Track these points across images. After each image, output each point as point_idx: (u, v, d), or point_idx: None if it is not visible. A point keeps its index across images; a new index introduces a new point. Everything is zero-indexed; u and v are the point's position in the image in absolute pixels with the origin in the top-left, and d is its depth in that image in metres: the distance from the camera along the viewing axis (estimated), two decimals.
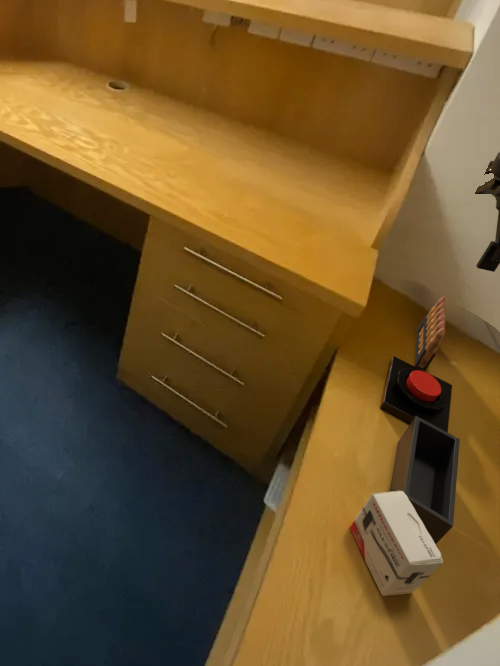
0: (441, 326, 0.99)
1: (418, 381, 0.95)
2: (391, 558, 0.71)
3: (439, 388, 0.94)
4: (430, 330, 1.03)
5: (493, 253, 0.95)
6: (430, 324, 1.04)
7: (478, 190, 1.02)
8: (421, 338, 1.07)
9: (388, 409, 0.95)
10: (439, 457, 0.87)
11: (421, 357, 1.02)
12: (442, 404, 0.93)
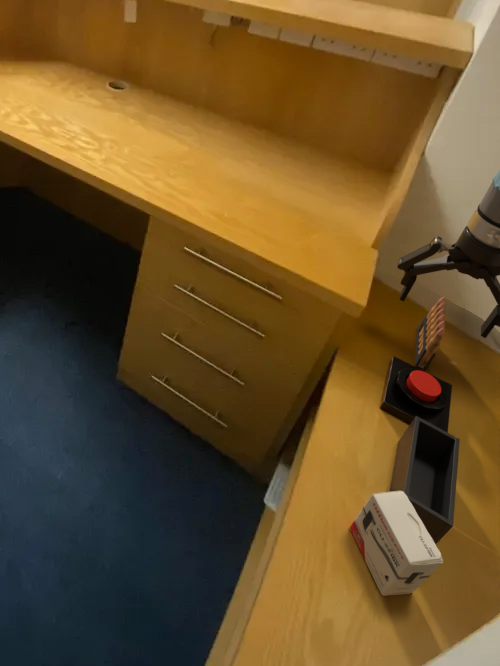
0: (441, 326, 0.99)
1: (418, 381, 0.95)
2: (391, 558, 0.71)
3: (439, 388, 0.94)
4: (430, 330, 1.03)
5: None
6: (430, 324, 1.04)
7: (429, 270, 0.98)
8: (421, 338, 1.07)
9: (388, 409, 0.95)
10: (439, 457, 0.87)
11: (421, 357, 1.02)
12: (442, 404, 0.93)
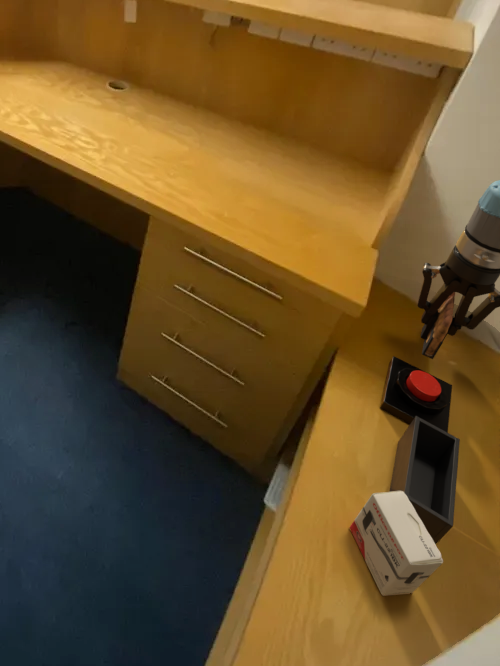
0: (449, 313, 0.97)
1: (418, 381, 0.95)
2: (391, 558, 0.71)
3: (439, 388, 0.94)
4: (438, 318, 1.01)
5: (451, 330, 1.01)
6: (439, 312, 1.02)
7: (440, 302, 0.99)
8: None
9: (388, 409, 0.95)
10: (439, 457, 0.87)
11: (428, 345, 1.00)
12: (442, 404, 0.93)
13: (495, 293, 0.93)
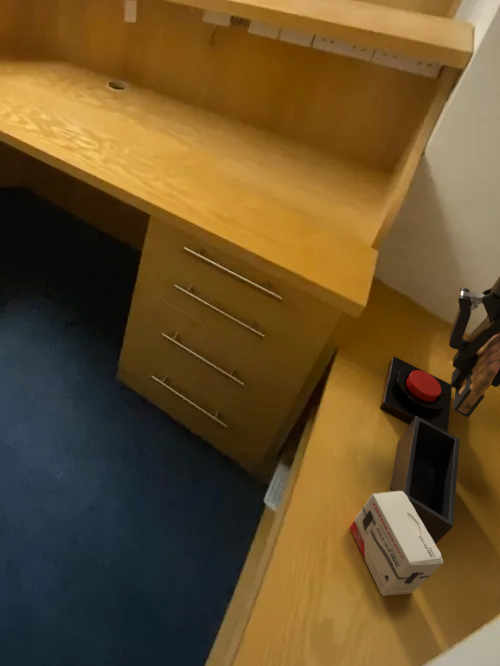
0: (494, 359, 0.71)
1: (418, 381, 0.95)
2: (391, 558, 0.71)
3: (439, 388, 0.94)
4: (478, 363, 0.75)
5: (495, 380, 0.75)
6: (478, 354, 0.76)
7: (482, 342, 0.73)
8: None
9: (388, 409, 0.95)
10: (439, 457, 0.87)
11: (463, 399, 0.74)
12: (442, 404, 0.93)
13: None
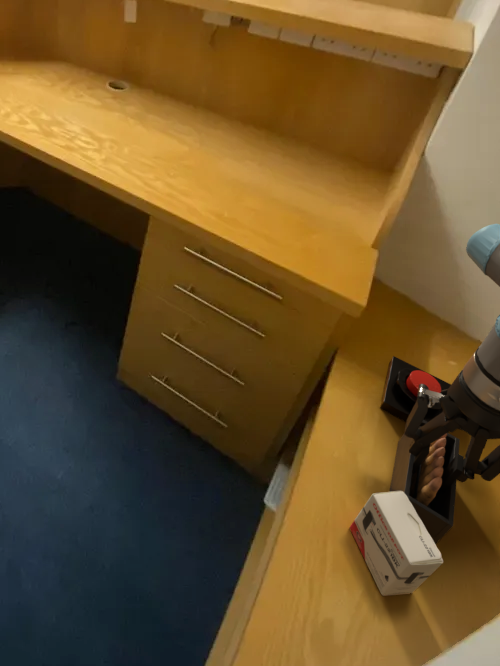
0: (438, 473, 0.77)
1: (418, 381, 0.95)
2: (391, 558, 0.71)
3: (439, 388, 0.94)
4: (425, 472, 0.80)
5: (461, 476, 0.77)
6: (426, 463, 0.81)
7: (436, 436, 0.76)
8: (414, 476, 0.84)
9: (388, 409, 0.95)
10: None
11: None
12: None
13: None
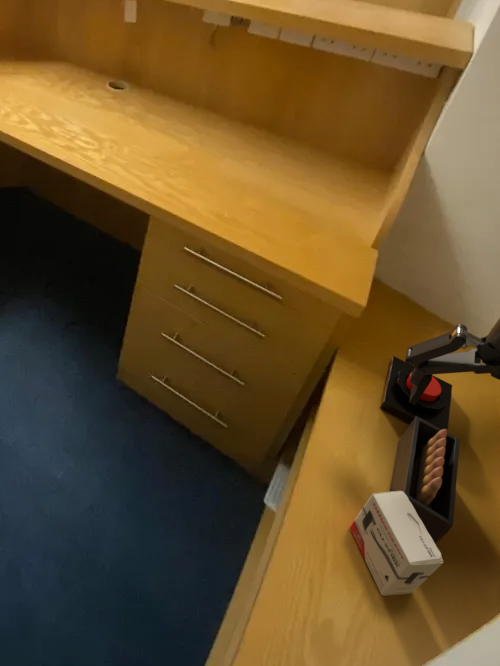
0: (438, 473, 0.77)
1: None
2: (391, 558, 0.71)
3: (439, 388, 0.94)
4: (425, 472, 0.80)
5: None
6: (426, 463, 0.81)
7: (450, 370, 0.71)
8: (414, 476, 0.84)
9: (388, 409, 0.95)
10: None
11: None
12: (442, 404, 0.93)
13: None
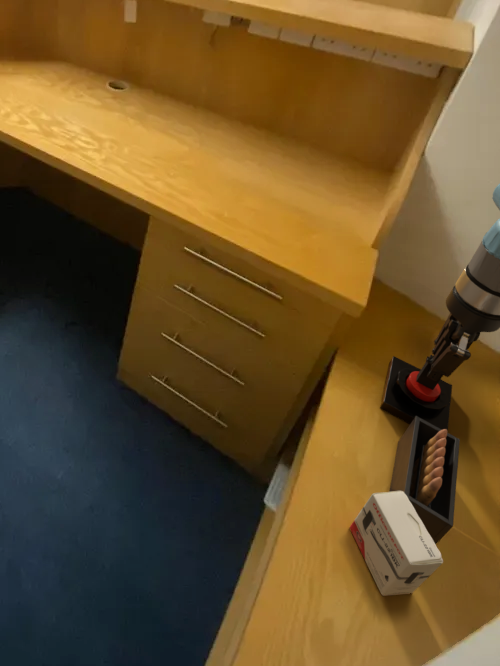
0: (438, 473, 0.77)
1: (417, 382, 0.95)
2: (391, 558, 0.71)
3: (438, 389, 0.94)
4: (425, 472, 0.80)
5: None
6: (426, 463, 0.81)
7: None
8: (415, 476, 0.84)
9: (388, 409, 0.95)
10: None
11: None
12: (442, 404, 0.93)
13: None
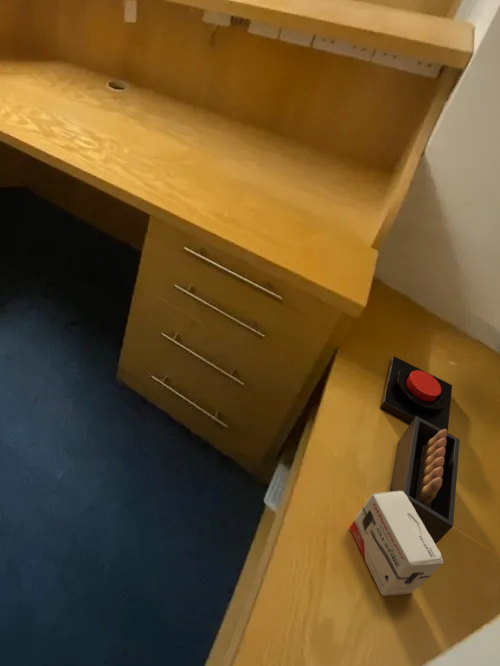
0: (438, 473, 0.77)
1: (418, 381, 0.95)
2: (391, 558, 0.71)
3: (439, 388, 0.94)
4: (425, 472, 0.80)
5: None
6: (426, 463, 0.81)
7: None
8: (415, 476, 0.84)
9: (388, 409, 0.95)
10: None
11: None
12: (442, 404, 0.93)
13: None
